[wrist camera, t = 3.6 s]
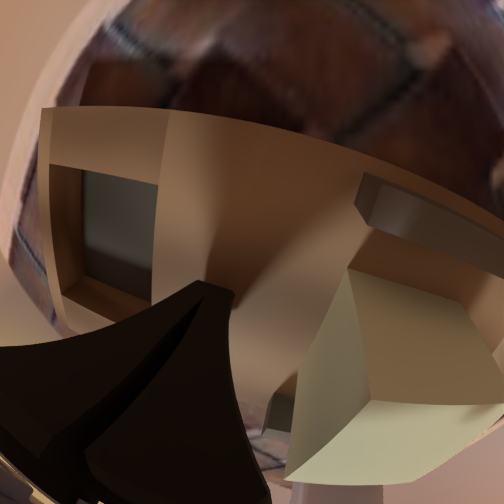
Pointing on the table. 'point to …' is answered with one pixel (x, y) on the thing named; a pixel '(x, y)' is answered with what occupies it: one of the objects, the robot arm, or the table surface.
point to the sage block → (390, 387)
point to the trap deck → (247, 232)
